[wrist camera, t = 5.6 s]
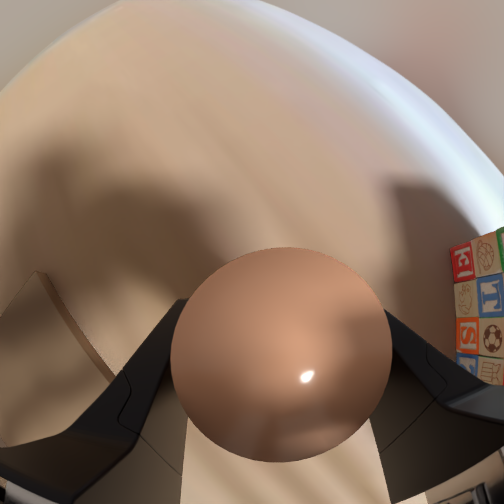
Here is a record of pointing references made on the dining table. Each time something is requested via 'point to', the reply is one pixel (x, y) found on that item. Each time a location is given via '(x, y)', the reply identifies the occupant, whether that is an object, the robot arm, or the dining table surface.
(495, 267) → the stack of blocks
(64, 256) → the dining table surface
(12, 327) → the tan flat square block
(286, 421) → the terracotta cylinder
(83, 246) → the dining table surface
